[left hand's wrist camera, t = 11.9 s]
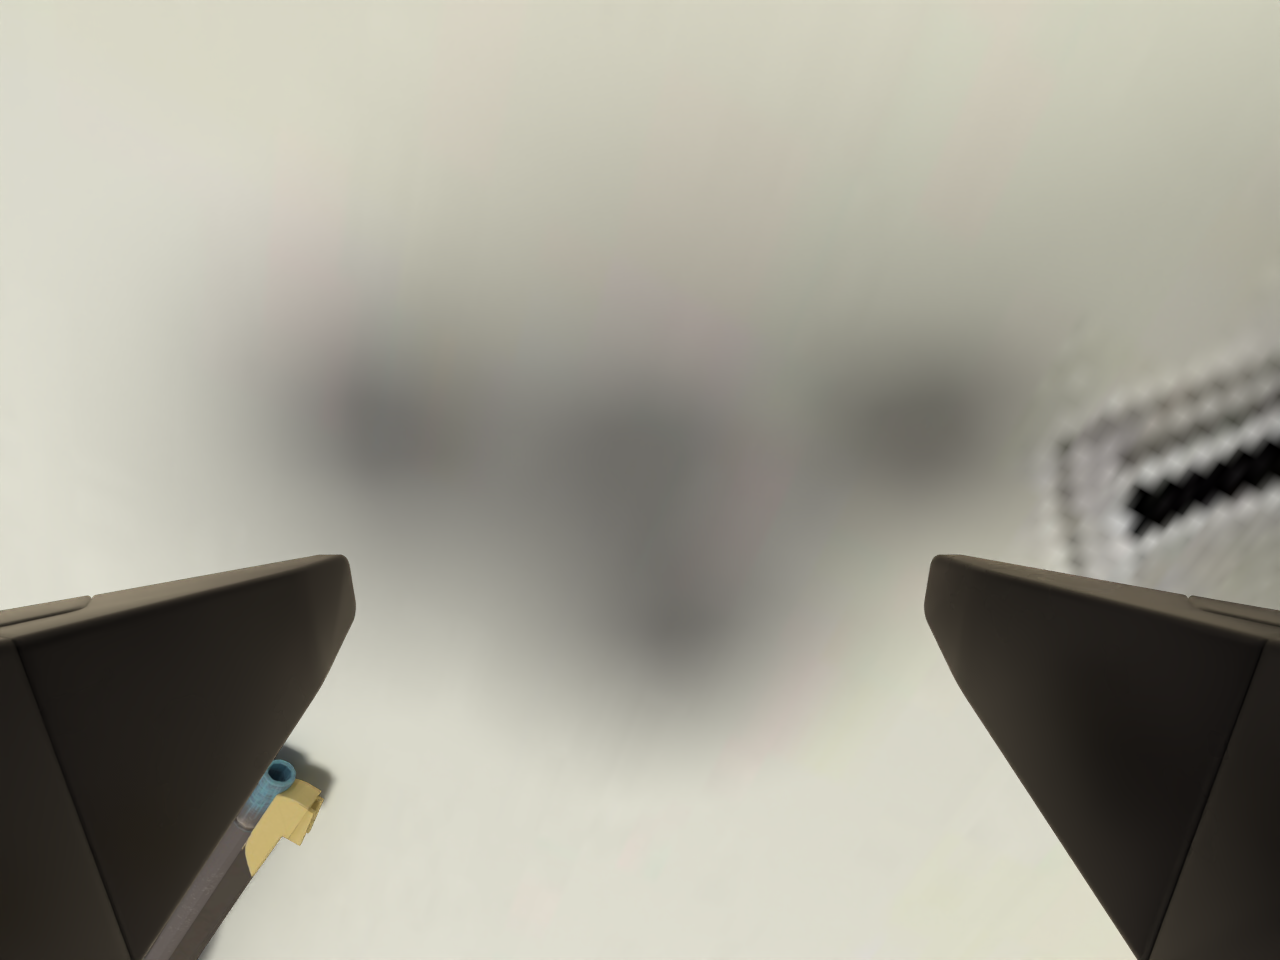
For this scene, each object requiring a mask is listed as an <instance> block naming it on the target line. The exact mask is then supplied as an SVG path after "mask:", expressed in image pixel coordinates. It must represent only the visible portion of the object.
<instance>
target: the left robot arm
mask: <svg viewBox="0 0 1280 960" xmlns="http://www.w3.org/2000/svg"><path fill="white" fill-rule="evenodd" d="M355 611H356V602H355V595H354V589H353V583H352V577H351V571H350V565H349V562H348V560H347V558H346V557H345V556H343V555H315V556H309V557H304V558H298V559H293V560H287V561H282V562H276V563H271V564H265V565H259V566H254V567H248V568H243V569H237V570H232V571H226V572H221V573H215V574H209V575H204V576H198V577H193V578H187V579H182V580H176V581H171V582H165V583H160V584H154V585H148V586H143V587H137V588H132V589H126V590H121V591H115V592H110V593H104V594H98V595H94V596H93V597H92V599H91V597H90V596H82V597H76V598H71V599H65V600H59V601H53V602H48V603H42V604H36V605H30V606H25V607H19V608H13V609H7V610H1V611H0V960H143V958H144V957H145V955H146V954H147V952H148V951H149V949H150V948H151V946H152V945H153V943H154V941H155V940H156V938H157V937H158V935H159V934H160V932H161V931H162V929H163V928H164V926H165V925H166V923H167V922H168V920H169V919H170V917H171V915H172V914H173V912H174V911H175V909H176V908H177V906H178V905H179V903H180V902H181V900H182V899H183V897H184V896H185V894H186V893H187V891H188V890H189V888H190V886H191V885H192V883H193V882H194V880H195V879H196V877H197V876H198V874H199V873H200V871H201V870H202V868H203V867H204V865H205V864H206V862H207V861H208V859H209V857H210V856H211V854H212V853H213V851H214V850H215V848H216V847H217V845H218V844H219V842H220V841H221V839H222V838H223V836H224V835H225V833H226V831H227V830H228V828H229V827H230V825H231V824H232V822H233V821H234V819H235V818H236V816H237V815H238V813H239V812H240V810H241V809H242V807H243V806H244V804H245V802H246V801H247V799H248V798H249V796H250V795H251V793H252V792H253V790H254V789H255V787H256V786H257V784H258V783H259V781H260V780H261V778H262V777H263V775H264V773H265V772H266V770H267V769H268V767H269V766H270V764H271V763H272V761H273V760H274V758H275V757H276V755H277V754H278V752H279V751H280V749H281V747H282V746H283V744H284V743H285V741H286V740H287V738H288V737H289V735H290V734H291V732H292V731H293V729H294V728H295V726H296V725H297V723H298V722H299V720H300V718H301V717H302V715H303V714H304V712H305V711H306V709H307V708H308V706H309V705H310V703H311V702H312V700H313V699H314V697H315V695H316V694H317V692H318V691H319V689H320V687H321V686H322V684H323V682H324V680H325V678H326V676H327V674H328V672H329V670H330V668H331V666H332V664H333V662H334V660H335V658H336V656H337V654H338V652H339V650H340V647H341V645H342V643H343V641H344V639H345V637H346V635H347V633H348V631H349V629H350V627H351V624H352V622H353V620H354V617H355ZM924 611H925V617H926V620H927V622H928V624H929V627H930V629H931V631H932V633H933V635H934V637H935V639H936V641H937V643H938V645H939V647H940V650H941V652H942V654H943V656H944V658H945V660H946V662H947V664H948V666H949V668H950V670H951V672H952V674H953V676H954V678H955V680H956V682H957V684H958V686H959V687H960V689H961V691H962V692H963V694H964V695H965V697H966V699H967V700H968V702H969V703H970V705H971V706H972V708H973V709H974V711H975V712H976V714H977V715H978V717H979V718H980V720H981V722H982V723H983V725H984V726H985V728H986V729H987V731H988V732H989V734H990V735H991V737H992V738H993V740H994V741H995V743H996V744H997V746H998V747H999V749H1000V750H1001V752H1002V754H1003V755H1004V757H1005V758H1006V760H1007V761H1008V763H1009V764H1010V766H1011V767H1012V769H1013V770H1014V772H1015V773H1016V775H1017V776H1018V778H1019V779H1020V781H1021V783H1022V784H1023V786H1024V787H1025V789H1026V790H1027V792H1028V793H1029V795H1030V796H1031V798H1032V799H1033V801H1034V802H1035V804H1036V805H1037V807H1038V808H1039V810H1040V812H1041V813H1042V815H1043V816H1044V818H1045V819H1046V821H1047V822H1048V824H1049V825H1050V827H1051V828H1052V830H1053V831H1054V833H1055V834H1056V836H1057V838H1058V839H1059V841H1060V842H1061V844H1062V845H1063V847H1064V848H1065V850H1066V851H1067V853H1068V854H1069V856H1070V857H1071V859H1072V860H1073V862H1074V864H1075V865H1076V867H1077V868H1078V870H1079V871H1080V873H1081V874H1082V876H1083V877H1084V879H1085V880H1086V882H1087V883H1088V885H1089V886H1090V888H1091V889H1092V891H1093V893H1094V894H1095V896H1096V897H1097V899H1098V900H1099V902H1100V903H1101V905H1102V906H1103V908H1104V909H1105V911H1106V912H1107V914H1108V915H1109V917H1110V919H1111V920H1112V922H1113V923H1114V925H1115V926H1116V928H1117V929H1118V931H1119V932H1120V934H1121V935H1122V937H1123V938H1124V940H1125V941H1126V943H1127V945H1128V946H1129V948H1130V949H1131V951H1132V952H1133V954H1134V955H1135V957H1136V958H1137V960H1280V611H1279V610H1273V609H1267V608H1261V607H1255V606H1250V605H1244V604H1238V603H1232V602H1227V601H1221V600H1215V599H1209V598H1204V597H1198V596H1190V597H1189V598H1188V597H1187V596H1186V595H1182V594H1177V593H1171V592H1166V591H1160V590H1154V589H1149V588H1143V587H1138V586H1132V585H1127V584H1121V583H1115V582H1110V581H1104V580H1099V579H1093V578H1088V577H1082V576H1076V575H1071V574H1065V573H1060V572H1054V571H1049V570H1043V569H1037V568H1032V567H1026V566H1021V565H1015V564H1010V563H1004V562H998V561H993V560H987V559H982V558H976V557H971V556H965V555H937V556H935V557H934V558H933V560H932V562H931V565H930V571H929V577H928V583H927V589H926V595H925V602H924Z"/></svg>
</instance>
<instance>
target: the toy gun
mask: <svg viewBox="0 0 1280 960" xmlns="http://www.w3.org/2000/svg"><path fill="white" fill-rule="evenodd" d="M295 777H296V771H295V769H294V767H293V765H291V764H290V763H289V762H287V761H284V760H282V759H281V760H273V761H272V763H271V764H270V766H269V767H268V769H267V770H266V772H265V773H264V775H263V777H262V778H261V780H260V781H259V783H258V784H257V786H256V787H255V789H254V790H253V792H252V793H251V795H250V796H249V798H248V799H247V801H246V802H245V804H244V806H243V807H242V809H241V810H240V812H239V813H238V815H237V816H236V818H235V819H234V821H233V822H232V824H231V825H230V827H229V828H228V830H227V831H226V833H225V835H224V836H223V838H222V839H221V841H220V842H219V844H218V845H217V847H216V848H215V850H214V851H213V853H212V854H211V856H210V857H209V859H208V861H207V862H206V864H205V865H204V867H203V868H202V870H201V871H200V873H199V874H198V876H197V877H196V879H195V880H194V882H193V883H192V885H191V886H190V888H189V890H188V891H187V893H186V894H185V896H184V897H183V899H182V900H181V902H180V903H179V905H178V906H177V908H176V909H175V911H174V912H173V914H172V915H171V917H170V919H169V920H168V922H167V923H166V925H165V926H164V928H163V929H162V931H161V932H160V934H159V935H158V937H157V938H156V940H155V941H154V943H153V945H152V946H151V948H150V949H149V951H148V952H147V954H146V955H145V957H144V958H143V960H197V959H198V957H199V955H200V954H201V952H202V951H203V949H204V948H205V946H206V945H207V943H208V942H209V940H210V939H211V937H212V936H213V935H214V933H215V932H216V930H217V929H218V927H219V926H220V924H221V923H222V921H223V920H224V918H225V917H226V915H227V914H228V913H229V911H230V910H231V908H232V907H233V905H234V904H235V902H236V901H237V899H238V898H239V896H240V895H241V893H242V892H243V890H244V889H245V888H246V886H247V885H248V883H249V882H250V880H251V879H252V877H253V876H254V875H255V873H256V872H257V871H258V869H259V868H260V867H261V865H262V864H263V862H264V861H265V860H266V858H267V857H268V856H269V854H270V853H271V851H272V850H273V849H274V847H275V846H276V844H277V843H278V841H279V840H280V838H281V837H282V836H283V837H285V838H287V839H288V840H290V841H292V842H294V843H296V844H297V845H299V846H300V845H301V843H302V841H303V839H304V837H305V834H306V833H309V832H310V830H311V828H312V826H313V823H314V821H315V819H316V816H317V814H318V812H319V809H320V807H321V805H322V802H323V800H324V799H323V798H321V797H320V796H319V794H320V793H321V791H320V790H319V789H317V788H315V787H314V786H312V785H311V784H309V783H307V782H305V781H302V780H299V779H295Z"/></svg>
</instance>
